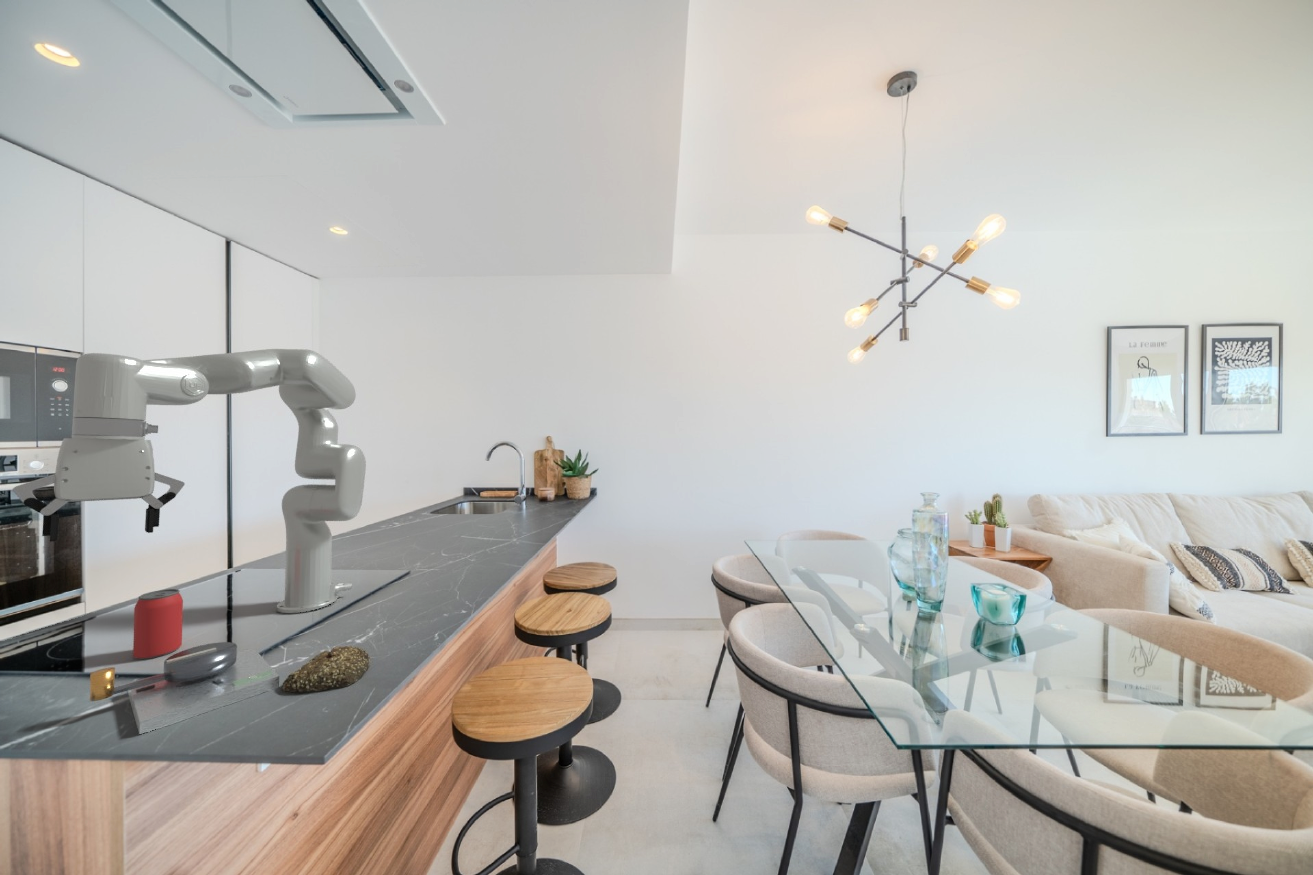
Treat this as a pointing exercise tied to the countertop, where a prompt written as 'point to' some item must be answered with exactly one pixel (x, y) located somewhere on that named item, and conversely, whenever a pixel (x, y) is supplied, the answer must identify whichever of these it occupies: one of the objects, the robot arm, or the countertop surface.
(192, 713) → the plate
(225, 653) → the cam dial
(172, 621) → the beer can
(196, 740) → the countertop surface
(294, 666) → the countertop surface
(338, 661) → the bread roll
